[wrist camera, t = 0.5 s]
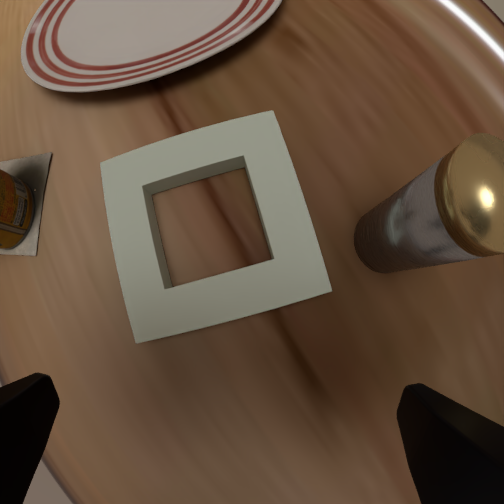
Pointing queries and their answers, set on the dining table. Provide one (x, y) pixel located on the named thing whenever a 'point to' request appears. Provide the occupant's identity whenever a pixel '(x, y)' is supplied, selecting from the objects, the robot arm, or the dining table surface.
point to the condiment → (21, 203)
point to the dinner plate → (131, 39)
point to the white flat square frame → (230, 283)
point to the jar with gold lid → (440, 212)
